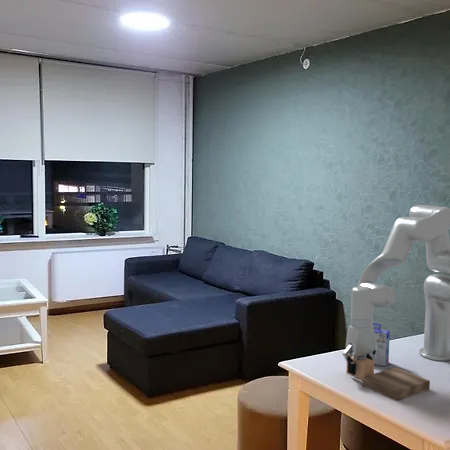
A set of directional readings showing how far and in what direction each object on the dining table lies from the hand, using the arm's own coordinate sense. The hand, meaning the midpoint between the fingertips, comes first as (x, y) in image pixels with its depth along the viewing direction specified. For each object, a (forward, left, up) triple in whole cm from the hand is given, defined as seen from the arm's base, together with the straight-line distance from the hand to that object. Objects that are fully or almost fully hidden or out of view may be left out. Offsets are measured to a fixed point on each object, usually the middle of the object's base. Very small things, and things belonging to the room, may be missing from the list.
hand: (359, 371), depth 191 cm
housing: (0, 0, -2) cm, 2 cm away
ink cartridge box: (-14, -6, -2) cm, 15 cm away
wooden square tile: (-2, +14, -1) cm, 14 cm away
